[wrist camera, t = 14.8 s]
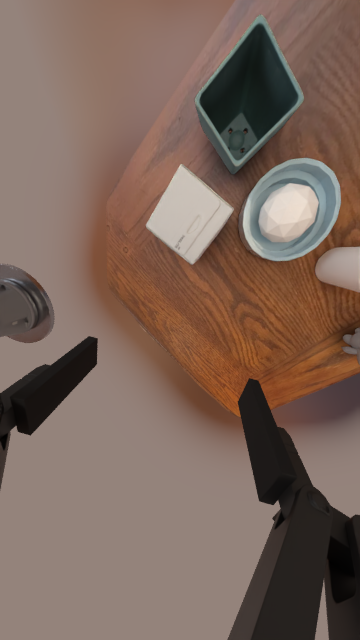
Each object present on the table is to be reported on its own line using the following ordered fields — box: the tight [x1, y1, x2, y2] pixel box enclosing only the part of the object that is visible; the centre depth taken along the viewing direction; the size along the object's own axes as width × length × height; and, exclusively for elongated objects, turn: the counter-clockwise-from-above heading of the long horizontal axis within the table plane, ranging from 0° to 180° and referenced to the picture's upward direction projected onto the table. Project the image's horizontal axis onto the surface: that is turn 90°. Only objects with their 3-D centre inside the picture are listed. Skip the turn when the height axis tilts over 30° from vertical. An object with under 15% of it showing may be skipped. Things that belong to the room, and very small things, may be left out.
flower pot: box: [195, 14, 304, 174], centre depth 24 cm, size 9×9×9 cm
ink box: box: [146, 164, 233, 265], centre depth 28 cm, size 8×8×12 cm
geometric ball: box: [258, 183, 319, 242], centre depth 27 cm, size 8×8×8 cm
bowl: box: [238, 158, 341, 261], centre depth 29 cm, size 13×13×5 cm
